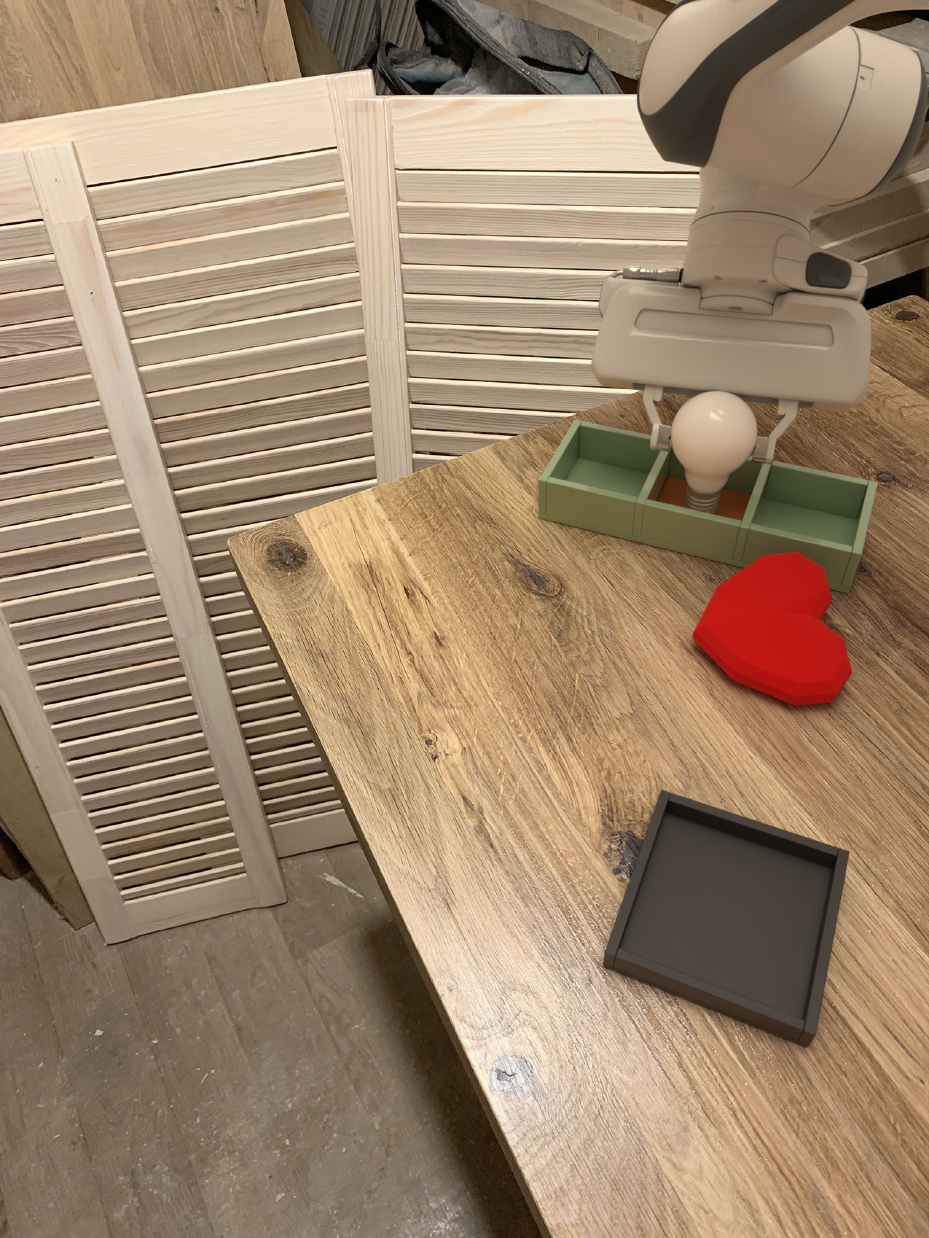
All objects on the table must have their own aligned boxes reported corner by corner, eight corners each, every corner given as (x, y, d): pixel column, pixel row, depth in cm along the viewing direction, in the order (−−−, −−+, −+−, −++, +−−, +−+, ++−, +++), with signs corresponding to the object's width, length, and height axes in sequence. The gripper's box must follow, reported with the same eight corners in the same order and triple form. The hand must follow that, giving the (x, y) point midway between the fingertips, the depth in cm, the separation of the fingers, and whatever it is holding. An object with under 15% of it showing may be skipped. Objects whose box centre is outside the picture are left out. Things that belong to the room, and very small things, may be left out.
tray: (841, 866, 55) (849, 850, 54) (807, 1048, 48) (815, 1035, 47) (658, 805, 59) (661, 788, 57) (602, 966, 52) (604, 952, 51)
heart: (703, 723, 65) (852, 711, 63) (706, 694, 61) (864, 681, 60) (679, 584, 71) (814, 570, 70) (681, 551, 68) (822, 535, 66)
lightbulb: (691, 477, 79) (709, 364, 71) (755, 509, 76) (781, 395, 68) (645, 514, 76) (657, 401, 68) (709, 549, 73) (730, 435, 65)
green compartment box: (864, 521, 75) (878, 481, 72) (848, 594, 70) (862, 554, 67) (573, 457, 83) (574, 419, 80) (538, 518, 78) (538, 479, 75)
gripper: (601, 248, 69) (571, 433, 70) (892, 270, 65) (855, 467, 66) (608, 276, 76) (581, 445, 76) (874, 298, 71) (841, 478, 72)
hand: (710, 456), depth 71 cm, fingers closed on lightbulb, 6 cm apart
